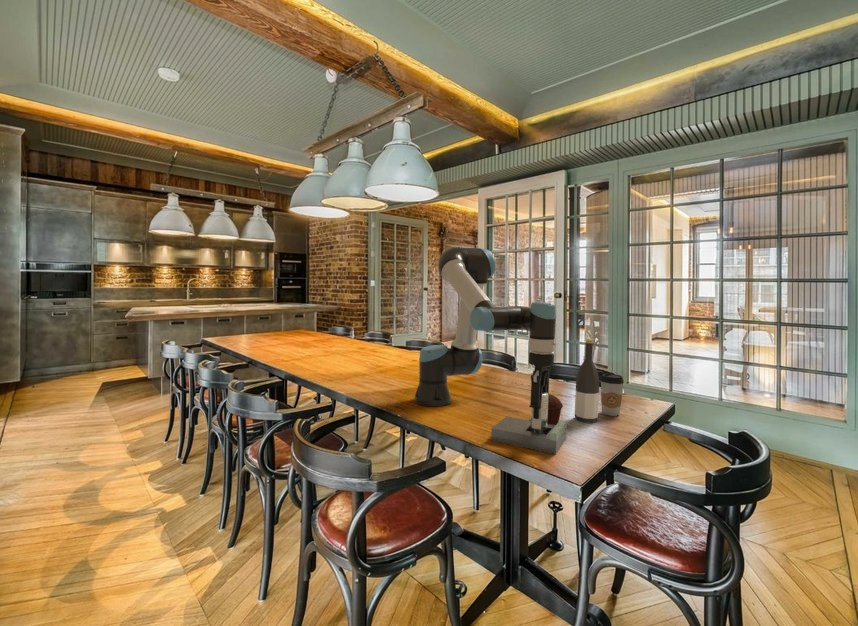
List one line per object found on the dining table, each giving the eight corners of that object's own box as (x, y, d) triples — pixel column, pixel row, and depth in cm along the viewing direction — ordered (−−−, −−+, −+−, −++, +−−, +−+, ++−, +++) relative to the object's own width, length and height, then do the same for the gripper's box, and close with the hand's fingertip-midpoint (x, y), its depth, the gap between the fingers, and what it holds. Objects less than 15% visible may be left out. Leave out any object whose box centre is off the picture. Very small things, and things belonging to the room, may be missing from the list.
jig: (491, 440, 129) (491, 421, 129) (506, 427, 142) (506, 410, 141) (555, 454, 120) (556, 434, 119) (566, 439, 132) (566, 421, 131)
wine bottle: (583, 423, 147) (586, 340, 145) (569, 416, 155) (573, 337, 153) (602, 422, 149) (606, 340, 148) (588, 415, 157) (591, 337, 155)
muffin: (523, 418, 152) (524, 392, 151) (546, 415, 156) (547, 389, 156) (544, 429, 141) (545, 400, 140) (569, 425, 146) (570, 397, 145)
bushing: (528, 438, 128) (529, 393, 127) (532, 433, 132) (534, 390, 131) (544, 441, 126) (546, 395, 125) (548, 436, 130) (550, 392, 129)
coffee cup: (599, 415, 158) (600, 376, 157) (598, 409, 165) (600, 372, 164) (623, 418, 155) (625, 378, 154) (621, 412, 162) (623, 374, 161)
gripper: (546, 357, 118) (543, 436, 119) (560, 349, 133) (557, 420, 135) (520, 354, 121) (518, 431, 123) (537, 347, 137) (534, 416, 138)
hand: (538, 425), depth 129 cm, fingers closed on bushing, 5 cm apart
